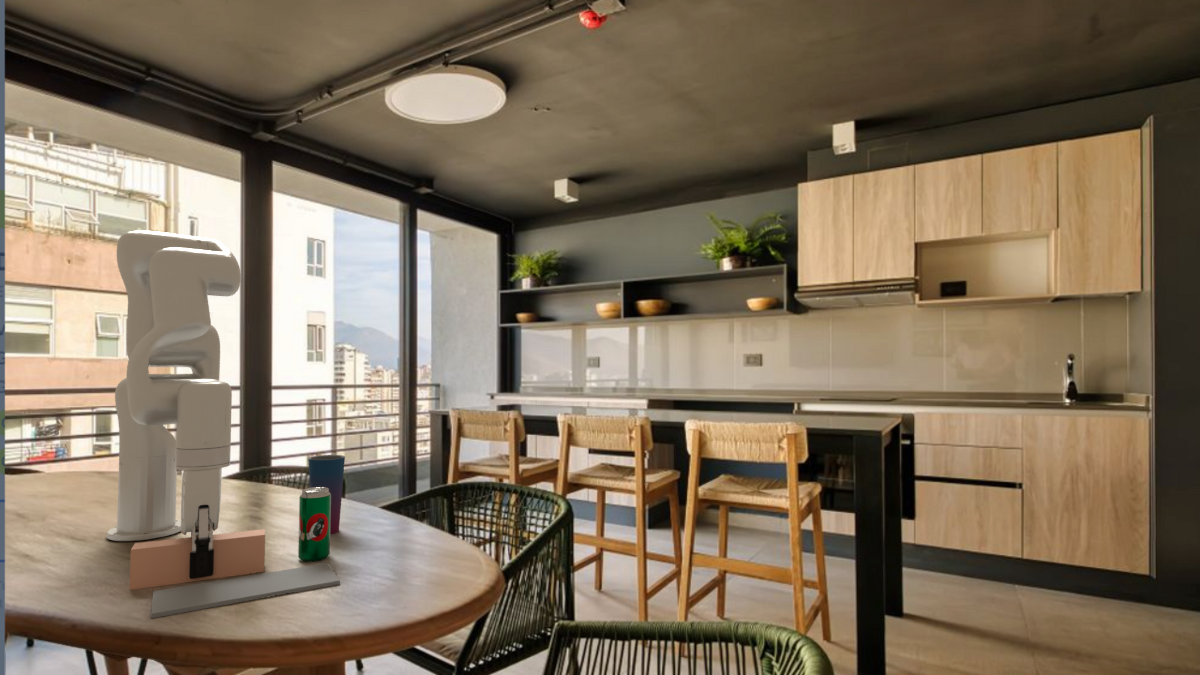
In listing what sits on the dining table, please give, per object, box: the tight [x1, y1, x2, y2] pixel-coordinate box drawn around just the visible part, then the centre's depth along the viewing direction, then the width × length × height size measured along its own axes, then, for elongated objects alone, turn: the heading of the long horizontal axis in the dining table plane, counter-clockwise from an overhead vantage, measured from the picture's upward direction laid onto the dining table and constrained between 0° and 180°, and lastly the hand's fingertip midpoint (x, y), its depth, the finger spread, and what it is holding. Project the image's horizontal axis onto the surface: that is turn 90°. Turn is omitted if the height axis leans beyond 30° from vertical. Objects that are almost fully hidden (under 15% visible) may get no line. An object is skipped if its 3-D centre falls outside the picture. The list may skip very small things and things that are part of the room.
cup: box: [308, 454, 346, 535], centre depth 129 cm, size 7×7×15 cm
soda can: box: [297, 487, 331, 563], centre depth 112 cm, size 5×5×12 cm
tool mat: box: [150, 563, 341, 619], centre depth 97 cm, size 10×24×1 cm, turn 124°
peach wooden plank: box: [129, 528, 266, 591], centre depth 103 cm, size 4×18×6 cm, turn 118°
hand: (200, 571), depth 103 cm, fingers closed on peach wooden plank, 4 cm apart
